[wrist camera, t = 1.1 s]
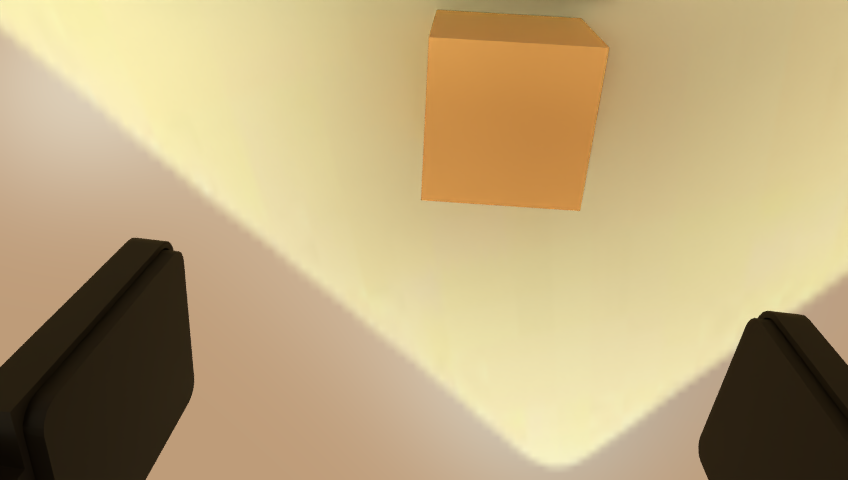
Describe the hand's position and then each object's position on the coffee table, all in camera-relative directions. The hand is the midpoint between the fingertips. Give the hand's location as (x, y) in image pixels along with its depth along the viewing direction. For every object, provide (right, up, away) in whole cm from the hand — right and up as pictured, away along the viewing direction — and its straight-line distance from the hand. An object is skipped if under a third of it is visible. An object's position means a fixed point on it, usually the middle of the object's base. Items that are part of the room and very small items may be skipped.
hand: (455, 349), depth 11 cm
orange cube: (+3, +9, +17) cm, 19 cm away
